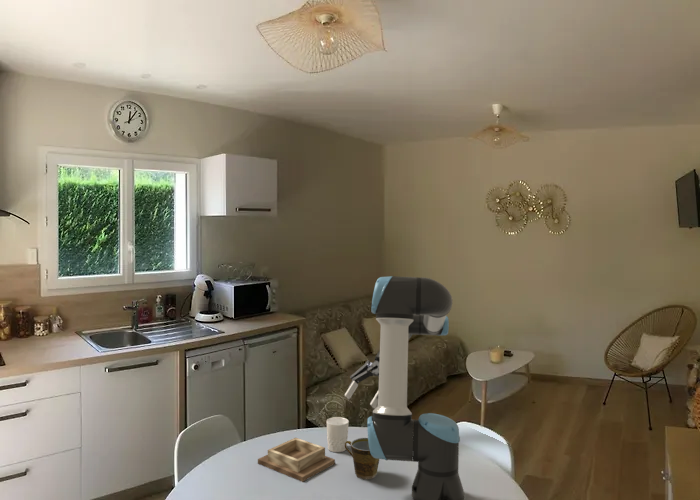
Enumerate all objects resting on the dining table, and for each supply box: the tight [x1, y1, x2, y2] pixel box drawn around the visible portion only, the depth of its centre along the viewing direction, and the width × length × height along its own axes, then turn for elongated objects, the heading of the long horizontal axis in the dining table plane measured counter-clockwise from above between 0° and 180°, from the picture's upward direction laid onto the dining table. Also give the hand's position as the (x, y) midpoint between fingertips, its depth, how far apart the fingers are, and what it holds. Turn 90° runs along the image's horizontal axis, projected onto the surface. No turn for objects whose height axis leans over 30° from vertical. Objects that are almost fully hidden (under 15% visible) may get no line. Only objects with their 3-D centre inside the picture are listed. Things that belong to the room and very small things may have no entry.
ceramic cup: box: [345, 437, 380, 480], centre depth 166 cm, size 13×10×10 cm
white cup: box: [326, 416, 350, 453], centre depth 185 cm, size 8×8×10 cm
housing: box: [257, 437, 336, 483], centre depth 172 cm, size 20×16×5 cm
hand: (359, 401), depth 191 cm, fingers open, 13 cm apart
